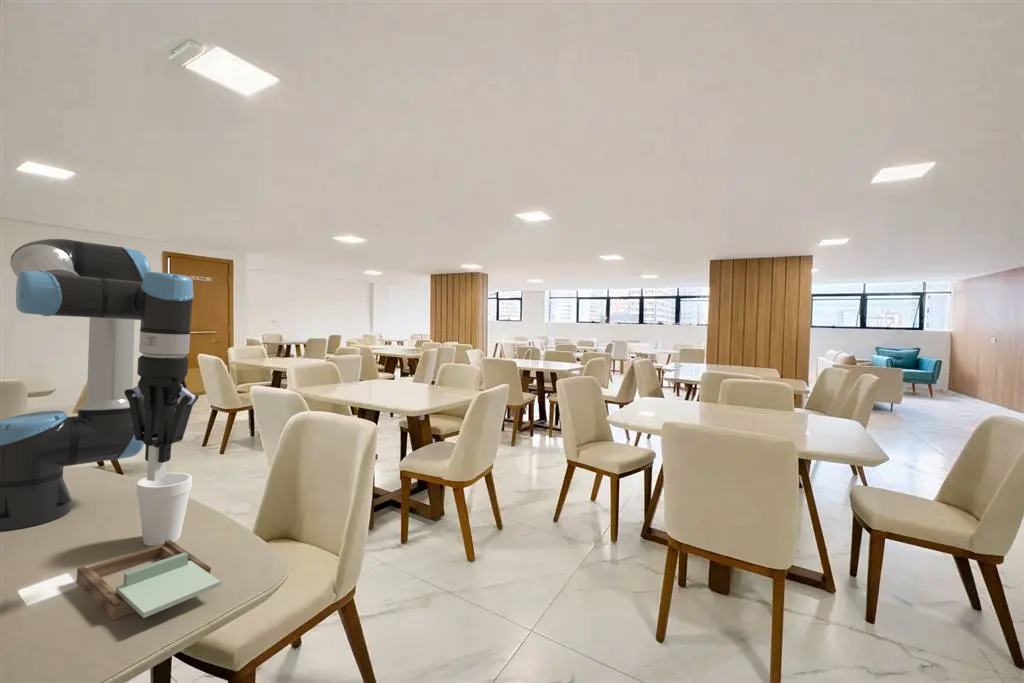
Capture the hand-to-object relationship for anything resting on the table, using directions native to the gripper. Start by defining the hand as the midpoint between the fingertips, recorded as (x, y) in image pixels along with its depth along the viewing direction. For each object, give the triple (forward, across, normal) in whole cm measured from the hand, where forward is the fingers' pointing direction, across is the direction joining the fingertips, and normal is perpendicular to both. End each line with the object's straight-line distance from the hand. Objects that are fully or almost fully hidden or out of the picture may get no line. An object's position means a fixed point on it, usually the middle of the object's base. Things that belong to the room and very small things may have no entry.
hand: (156, 478), depth 85 cm
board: (+18, +2, -4) cm, 18 cm away
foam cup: (+18, -7, +11) cm, 22 cm away
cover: (+15, +11, -9) cm, 21 cm away
